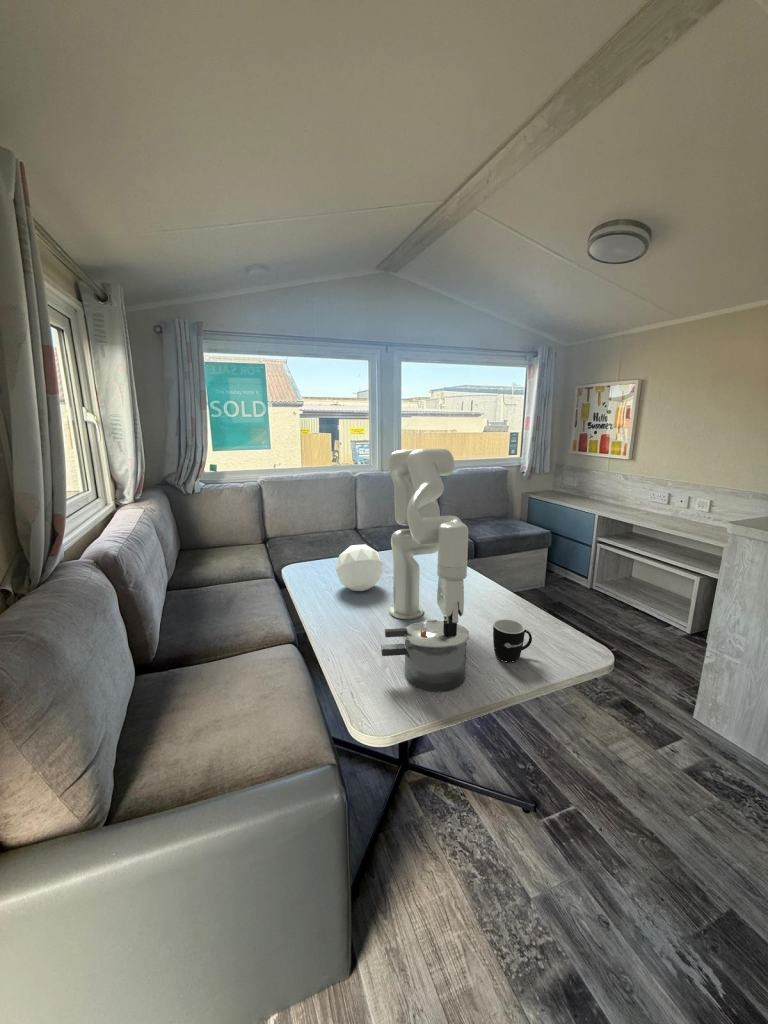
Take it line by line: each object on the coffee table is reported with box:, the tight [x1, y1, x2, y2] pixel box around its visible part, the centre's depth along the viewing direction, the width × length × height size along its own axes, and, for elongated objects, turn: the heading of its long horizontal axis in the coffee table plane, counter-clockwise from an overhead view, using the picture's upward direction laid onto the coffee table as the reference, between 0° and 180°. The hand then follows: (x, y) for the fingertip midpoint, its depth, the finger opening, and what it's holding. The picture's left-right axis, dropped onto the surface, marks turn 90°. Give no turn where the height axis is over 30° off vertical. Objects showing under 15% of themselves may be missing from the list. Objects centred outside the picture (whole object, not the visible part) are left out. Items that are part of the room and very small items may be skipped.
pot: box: [380, 639, 468, 693], centre depth 118 cm, size 17×24×10 cm
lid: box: [384, 619, 470, 648], centre depth 116 cm, size 19×23×2 cm
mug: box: [492, 618, 533, 663], centre depth 126 cm, size 12×9×10 cm
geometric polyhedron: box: [335, 543, 383, 592], centre depth 176 cm, size 19×20×20 cm
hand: (449, 634), depth 113 cm, fingers closed
